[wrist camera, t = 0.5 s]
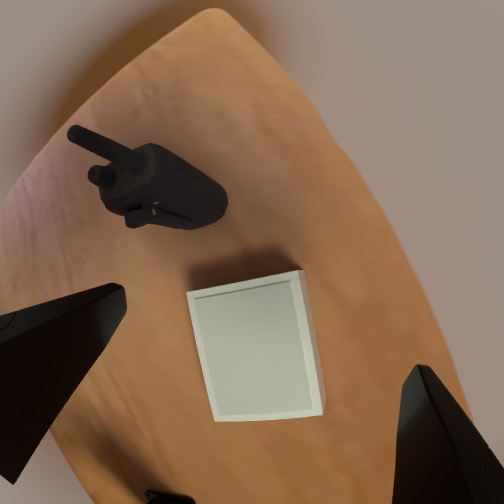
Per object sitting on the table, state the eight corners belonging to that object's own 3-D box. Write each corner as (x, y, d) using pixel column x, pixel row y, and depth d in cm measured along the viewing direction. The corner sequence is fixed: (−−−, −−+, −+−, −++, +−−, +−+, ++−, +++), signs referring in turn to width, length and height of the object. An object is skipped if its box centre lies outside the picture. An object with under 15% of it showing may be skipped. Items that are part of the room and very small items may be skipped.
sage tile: (229, 406, 23) (214, 422, 20) (204, 289, 24) (185, 292, 21) (326, 397, 21) (322, 415, 18) (303, 270, 22) (297, 270, 19)
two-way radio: (228, 178, 24) (98, 86, 10) (240, 230, 24) (98, 180, 9) (170, 200, 26) (24, 145, 11) (179, 249, 25) (21, 229, 11)
